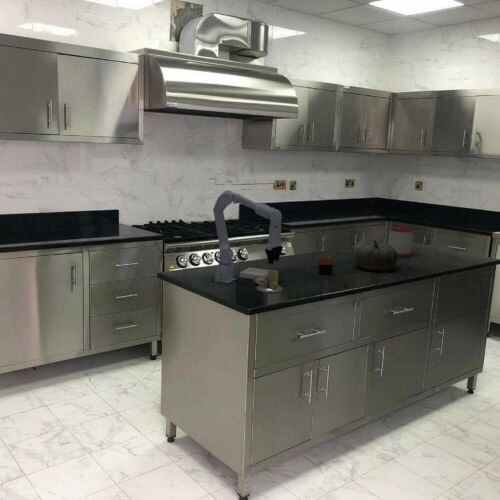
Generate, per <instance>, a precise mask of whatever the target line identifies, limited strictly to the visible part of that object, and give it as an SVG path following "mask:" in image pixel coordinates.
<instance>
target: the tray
mask: <svg viewBox="0 0 500 500" xmlns="http://www.w3.org/2000/svg"><path fill="white" fill-rule="evenodd" d="M269 270H270V269H264V268H256V267H249V268H246V269H244V270H241V271H240V272H239V278H241V279H250V280H253V279H254V277H258V278H261V279H265V280H267V279H268V271H269Z"/></svg>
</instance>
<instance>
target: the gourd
mask: <svg viewBox="0 0 500 500" xmlns="http://www.w3.org/2000/svg"><path fill="white" fill-rule="evenodd" d="M373 244H374V245H373ZM373 244H371V243H370V242H368V241H365V240H364V241H363V240H361V241H358V242H357V243H356V244H355V245H354V246H353V249H352V257H353V259H354V262H355V263H356V264H357V265H358V266H360V268H363V269H364V270H366V271H367V270H368V271H375V270H377V271H379V272H386V271H389V270H391V269H392V268H394V267H395V266H396V265H397V262H398V258H399V257H398V254H397V252H396V250H395V249H394V248H393V247H392V246H391V245H389V244H388V243H380V244H378V243H377V241H376V239H373Z"/></svg>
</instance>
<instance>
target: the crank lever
mask: <svg viewBox="0 0 500 500" xmlns="http://www.w3.org/2000/svg"><path fill="white" fill-rule="evenodd" d="M252 280H253V283H254V284H257V285H264V286H266V287H270V288H273V289H277V288H278V286H279V282H278V283H275V282H273V280H272V279H268V278H267V279H261V278H258V277H254V279H252Z"/></svg>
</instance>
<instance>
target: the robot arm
mask: <svg viewBox="0 0 500 500" xmlns="http://www.w3.org/2000/svg"><path fill="white" fill-rule="evenodd" d="M232 203H233V204H241V205H243V206H245V207H248V208H250V209H253V210H254V212H255V214H256V215H258V216H261V217H262V218H264V219H267V220H268V219H269V228H268V244H267V246H266V248H265V249H264V251H265V254H266V258H267V263H268V264H269V265H273V264H274V262H275V261H276V262H279V260H280V256H281V255H282V251H283V249H284V246H283V243H282V240H281V238H282V236H281V235H282V220H283V216H282V212H281V210H279V209H277V208H275V207H271V206H269V205H267V202H266V203H265V202H258V203H257V202H255V201H252V200H251V199H250V198H247V197H245V196H243V195H241V194H240V193H236V192H232V191H231V190H224V191H223V192H222V193H220V195H219V196H218V197H217V200H216V202H215V204H214V206H213V209H212V210H213V212H212V213H213V217H214V222H215V227H216V233H217V239H218V244H219V246H218V247H219V255H218V259H219V260H218V265H217V266H216V268H215V275H214V276H215V277H214V280H213V282H215V283H216V282H217V283H222V284H230V283H231V282H233V281H236V280H237V278H234V276H233V275H234V261H233V260H232V258H233V257H234V251H233V250H232V249H231V244H230V241H229V235H228V231H227V225H226V220H225V219H226V218H225V213H224V211H225V209H226V208H227V207H228V206H229V205H231V204H232Z"/></svg>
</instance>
